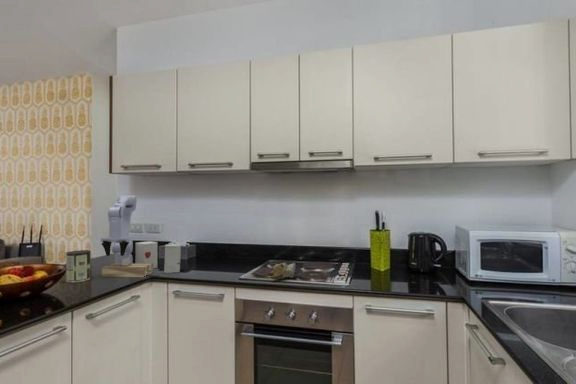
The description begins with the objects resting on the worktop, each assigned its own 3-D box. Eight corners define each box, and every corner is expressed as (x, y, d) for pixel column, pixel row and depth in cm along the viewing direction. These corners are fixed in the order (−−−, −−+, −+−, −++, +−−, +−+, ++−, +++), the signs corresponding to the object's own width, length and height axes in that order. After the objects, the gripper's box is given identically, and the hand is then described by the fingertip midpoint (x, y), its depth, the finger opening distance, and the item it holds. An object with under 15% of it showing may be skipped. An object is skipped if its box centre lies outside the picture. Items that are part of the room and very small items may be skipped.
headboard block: (113, 272, 179) (113, 263, 179) (152, 272, 178) (152, 263, 178) (101, 277, 168) (101, 267, 168) (143, 277, 167) (143, 267, 167)
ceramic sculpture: (298, 261, 160) (269, 265, 155) (300, 279, 160) (270, 283, 155) (291, 258, 170) (263, 262, 165) (292, 274, 170) (264, 279, 165)
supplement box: (143, 270, 183) (143, 243, 183) (134, 268, 188) (134, 242, 189) (158, 267, 190) (158, 242, 191) (149, 266, 196) (149, 240, 196)
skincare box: (164, 273, 176) (164, 245, 176) (164, 271, 181) (164, 244, 182) (180, 272, 178) (180, 245, 178) (180, 270, 184) (180, 243, 184)
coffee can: (79, 277, 169) (79, 249, 169) (95, 278, 166) (95, 250, 166) (60, 282, 159) (60, 252, 159) (77, 283, 156) (77, 253, 156)
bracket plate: (126, 271, 175) (126, 256, 175) (130, 271, 175) (130, 256, 175) (122, 273, 171) (122, 258, 171) (125, 273, 171) (125, 258, 171)
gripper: (97, 230, 168) (97, 256, 168) (124, 230, 168) (124, 256, 167) (105, 229, 175) (105, 254, 175) (131, 229, 175) (131, 254, 174)
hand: (115, 255), depth 172 cm, fingers open, 7 cm apart
